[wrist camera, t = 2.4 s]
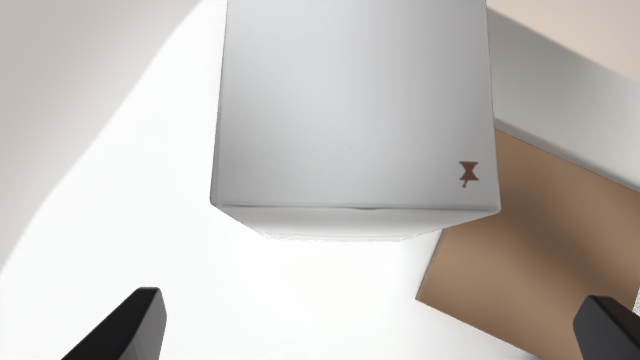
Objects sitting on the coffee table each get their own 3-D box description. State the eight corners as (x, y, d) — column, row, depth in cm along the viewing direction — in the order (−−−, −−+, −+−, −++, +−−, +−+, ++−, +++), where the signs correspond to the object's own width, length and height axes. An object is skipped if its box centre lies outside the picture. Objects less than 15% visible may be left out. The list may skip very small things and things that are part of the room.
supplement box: (399, 110, 24) (496, -48, 12) (400, 244, 23) (511, 221, 11) (267, 105, 24) (226, -60, 12) (259, 240, 23) (205, 212, 10)
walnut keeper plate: (597, 385, 22) (608, 389, 21) (415, 299, 22) (419, 300, 22) (653, 206, 24) (664, 204, 23) (483, 130, 24) (489, 126, 24)
